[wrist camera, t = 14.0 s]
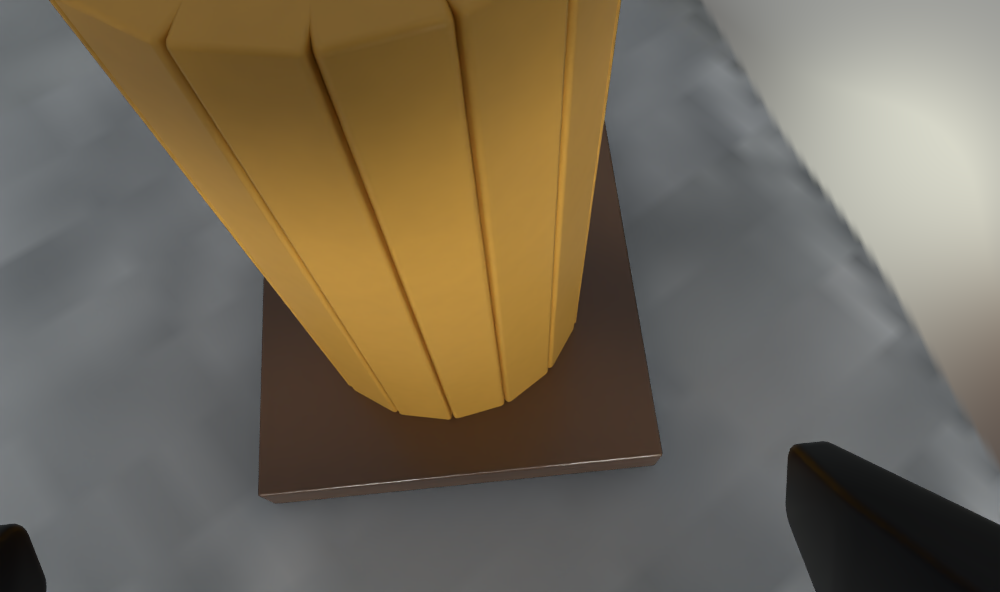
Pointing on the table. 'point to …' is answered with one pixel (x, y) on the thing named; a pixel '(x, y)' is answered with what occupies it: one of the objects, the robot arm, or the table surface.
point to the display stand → (477, 437)
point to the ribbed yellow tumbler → (387, 169)
